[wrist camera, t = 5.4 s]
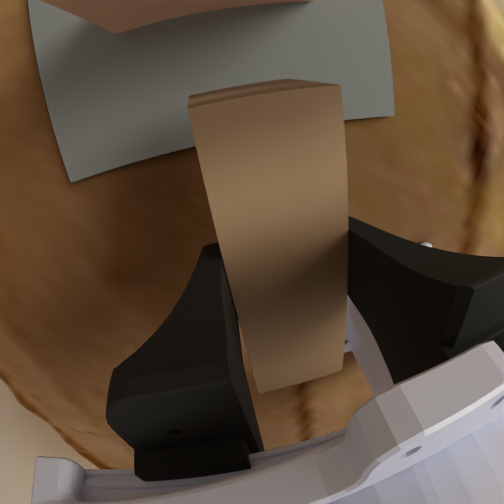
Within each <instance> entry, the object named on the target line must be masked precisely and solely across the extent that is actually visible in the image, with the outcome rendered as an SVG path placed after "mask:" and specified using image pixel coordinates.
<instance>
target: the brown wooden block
mask: <svg viewBox="0 0 504 504" xmlns="http://www.w3.org/2000/svg"><path fill="white" fill-rule="evenodd" d="M187 109H188V113H189V118H190V122H191V127H192V131H193V136H194V140H195V145H196V149H197V154H198V158H199V162H200V167H201V171H202V175H203V180H204V184H205V188H206V192H207V197H208V201H209V205H210V209H211V213H212V217H213V222H214V226H215V230H216V234H217V238H218V242H219V246H220V250H221V254H222V258H223V262H224V266H225V270H226V274H227V277H228V281H229V285H230V289H231V293H232V297H233V301H234V304H235V308H236V312H237V316H238V320H239V323H240V327H241V331H242V334H243V338H244V342H245V346H246V349H247V353H248V356H249V360H250V364H251V367H252V371H253V374H254V378H255V382H256V385H257V389H258V392H259V394H261V393H265V392H269V391H273V390H277V389H281V388H285V387H288V386H292V385H296V384H299V383H303V382H306V381H310V380H313V379H317V378H320V377H323V376H327V375H330V374H333V373H336V372H339V371H342V369H343V357H344V344H345V330H346V312H347V289H348V183H347V160H346V143H345V128H344V116H343V104H342V94H341V85H337V84H330V83H323V82H315V81H307V80H297V79H279V80H272V81H265V82H258V83H251V84H245V85H239V86H234V87H228V88H223V89H218V90H213V91H208V92H203V93H199V94H194V95H190V96H189V97H188V108H187Z"/></svg>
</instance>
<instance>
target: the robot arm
mask: <svg viewBox="0 0 504 504" xmlns="http://www.w3.org/2000/svg"><path fill="white" fill-rule="evenodd" d="M348 351H352V353H353V355H354V357H355V359H356V360H357V362H358V364H359V366H360V368H361V370H362V372H363V374H364V376H365V378H366V380H367V382H368V384H369V386H370V388H371V390H372V392H373V394H374V396H373V397H372V398H370V399H369V400H368V401H367V402H365V403H364V404H363V405H362V406H360V407H359V408H358V409H357V410H356V412H355V413H354V415H353V416H352V418H351V419H350V421H349V423H348V425H347V427H346V428H344V429H341V430H338V431H335V432H332V433H329V434H326V435H323V436H319V437H316V438H313V439H309V440H306V441H302V442H299V443H295V444H291V445H288V446H284V447H280V448H276V449H271V450H267V451H265V450H264V447H263V443H262V439H261V435H260V431H259V427H258V423H257V419H256V415H255V411H254V407H253V403H252V399H251V395H250V391H249V386H248V382H247V378H246V374H245V369H244V364H243V358H242V350H241V341H240V333H239V324H238V316H237V312H236V308H235V304H234V301H233V297H232V293H231V289H230V285H229V281H228V277H227V274H226V270H225V266H224V262H223V258H222V254H221V250H220V246H219V242H217V243H213V244H209V245H205V246H204V247H203V248H202V251H201V254H200V257H199V260H198V263H197V265H196V268H195V270H194V272H193V275H192V277H191V279H190V281H189V283H188V285H187V287H186V289H185V291H184V293H183V295H182V296H181V298H180V300H179V301H178V303H177V305H176V306H175V308H174V309H173V311H172V312H171V313H170V315H169V316H168V317H167V319H166V320H165V321H164V322H163V324H162V325H161V326H160V327H159V328H158V330H157V331H156V332H155V333H154V334H153V335H152V336H151V337H150V338H149V339H148V340H147V341H146V342H145V343H144V344H143V345H142V346H141V347H140V348H139V349H138V350H137V351H136V352H134V353H133V354H132V355H131V356H130V357H128V358H127V359H126V360H125V361H123V362H122V363H121V364H120V365H118V366H117V367H116V368H114V369H113V372H112V376H111V380H110V384H109V389H108V397H107V406H106V420H107V423H108V424H109V425H110V427H111V428H112V429H113V430H114V431H115V432H116V433H117V434H118V435H119V436H120V437H121V438H122V439H123V440H124V441H125V442H127V443H128V444H129V445H130V446H131V447H132V448H133V449H134V469H110V470H98V469H97V470H95V469H84V468H83V467H82V466H80V465H79V464H78V463H76V462H75V461H72V460H70V459H66V458H58V457H57V458H56V457H42V456H38V457H36V464H35V471H34V479H33V488H32V498H31V504H504V257H488V256H476V255H467V254H461V253H455V252H450V251H445V250H440V249H436V248H432V245H431V244H430V243H428V242H425V243H422V244H418V243H415V242H412V241H409V240H406V239H403V238H401V237H398V236H395V235H393V234H390V233H388V232H385V231H383V230H381V229H378V228H376V227H374V226H371V225H369V224H367V223H364V222H362V221H360V220H357V219H355V218H352V217H350V216H348V289H347V312H346V330H345V344H344V353H345V352H348Z"/></svg>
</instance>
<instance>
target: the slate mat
mask: <svg viewBox="0 0 504 504" xmlns="http://www.w3.org/2000/svg"><path fill="white" fill-rule="evenodd" d="M28 7H29V15H30V22H31V29H32V36H33V42H34V48H35V53H36V59H37V64H38V69H39V74H40V78H41V83H42V87H43V91H44V95H45V99H46V103H47V107H48V111H49V115H50V119H51V122H52V126H53V129H54V133H55V136H56V139H57V143H58V146H59V149H60V152H61V156H62V159H63V162H64V165H65V168H66V171H67V174H68V176H69V179H70V182H71V183H72V182H75V181H78V180H81V179H83V178H86V177H89V176H92V175H95V174H98V173H101V172H105V171H108V170H111V169H114V168H117V167H120V166H124V165H127V164H130V163H134V162H137V161H141V160H144V159H148V158H151V157H155V156H159V155H162V154H166V153H170V152H174V151H178V150H182V149H186V148H190V147H194V146H196V145H195V140H194V136H193V131H192V127H191V122H190V118H189V113H188V109H187V108H188V97H189V96H190V95H194V94H199V93H203V92H208V91H213V90H218V89H223V88H228V87H234V86H239V85H245V84H251V83H258V82H265V81H272V80H279V79H297V80H307V81H315V82H323V83H330V84H337V85H341V94H342V104H343V116H344V120H351V119H361V118H372V117H384V116H395V109H394V92H393V78H392V67H391V57H390V48H389V39H388V32H387V25H386V18H385V12H384V6H383V0H314V1H312V2H287V3H270V4H258V5H248V6H240V7H232V8H225V9H218V10H212V11H206V12H201V13H195V14H190V15H186V16H181V17H176V18H172V19H168V20H164V21H160V22H156V23H152V24H148V25H145V26H141V27H138V28H134V29H131V30H128V31H125V32H121V33H118V34H113V33H111V32H109V31H107V30H105V29H103V28H101V27H99V26H97V25H95V24H93V23H91V22H89V21H87V20H84V19H82V18H80V17H78V16H76V15H73V14H71V13H69V12H66V11H64V10H62V9H59V8H57V7H55V6H52V5H50V4H47V3H45V2H42V1H40V0H28Z"/></svg>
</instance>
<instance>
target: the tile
mask: <svg viewBox="0 0 504 504" xmlns="http://www.w3.org/2000/svg"><path fill="white" fill-rule="evenodd" d="M40 1H42V2H45V3H47V4H50V5H52V6H55V7H57V8H59V9H62V10H64V11H66V12H69V13H71V14H73V15H76V16H78V17H80V18H82V19H84V20H87V21H89V22H91V23H93V24H95V25H97V26H99V27H101V28H103V29H105V30H107V31H109V32H111V33H113V34H118V33H121V32H125V31H128V30H131V29H134V28H138V27H141V26H145V25H148V24H152V23H156V22H160V21H164V20H168V19H172V18H176V17H181V16H186V15H190V14H195V13H201V12H206V11H212V10H218V9H225V8H232V7H240V6H248V5H258V4H270V3H287V2H312V1H314V0H40Z"/></svg>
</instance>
